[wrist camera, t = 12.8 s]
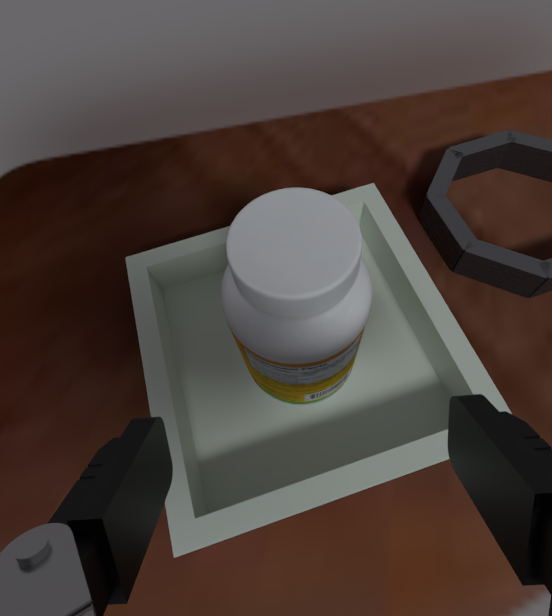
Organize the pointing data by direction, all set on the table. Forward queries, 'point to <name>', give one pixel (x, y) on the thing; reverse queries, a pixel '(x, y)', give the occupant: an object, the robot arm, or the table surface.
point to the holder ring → (455, 233)
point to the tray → (284, 417)
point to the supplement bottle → (296, 293)
